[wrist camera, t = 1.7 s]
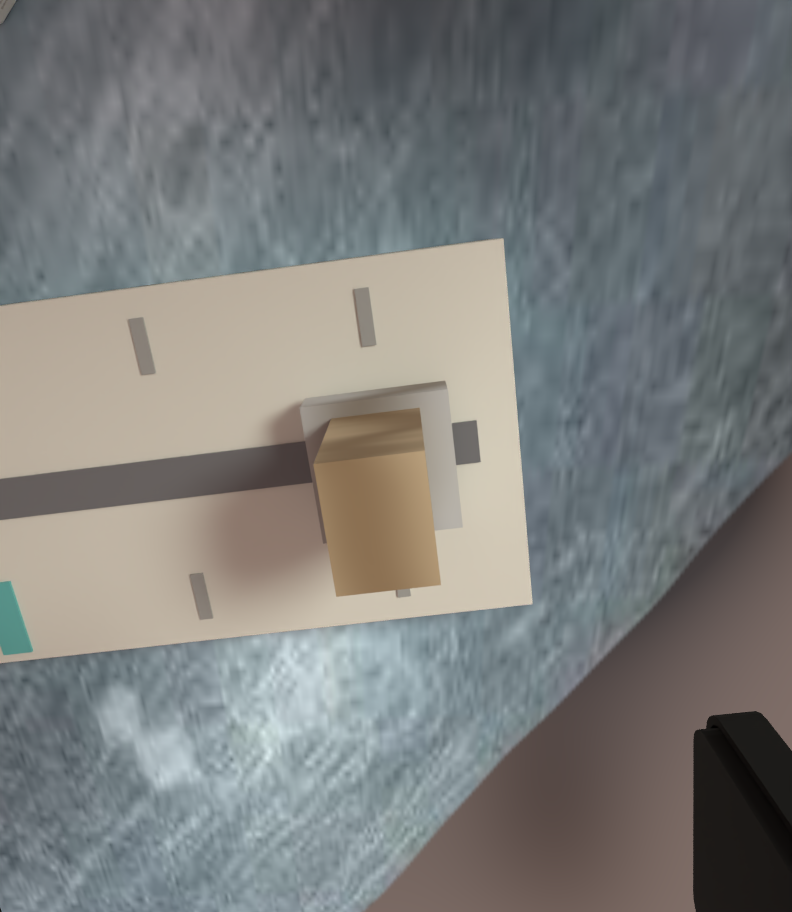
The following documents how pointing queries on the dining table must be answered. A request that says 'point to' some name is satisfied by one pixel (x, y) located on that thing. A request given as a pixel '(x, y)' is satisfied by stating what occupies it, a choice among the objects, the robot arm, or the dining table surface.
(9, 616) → the console
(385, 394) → the fader
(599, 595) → the dining table surface
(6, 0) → the small box
